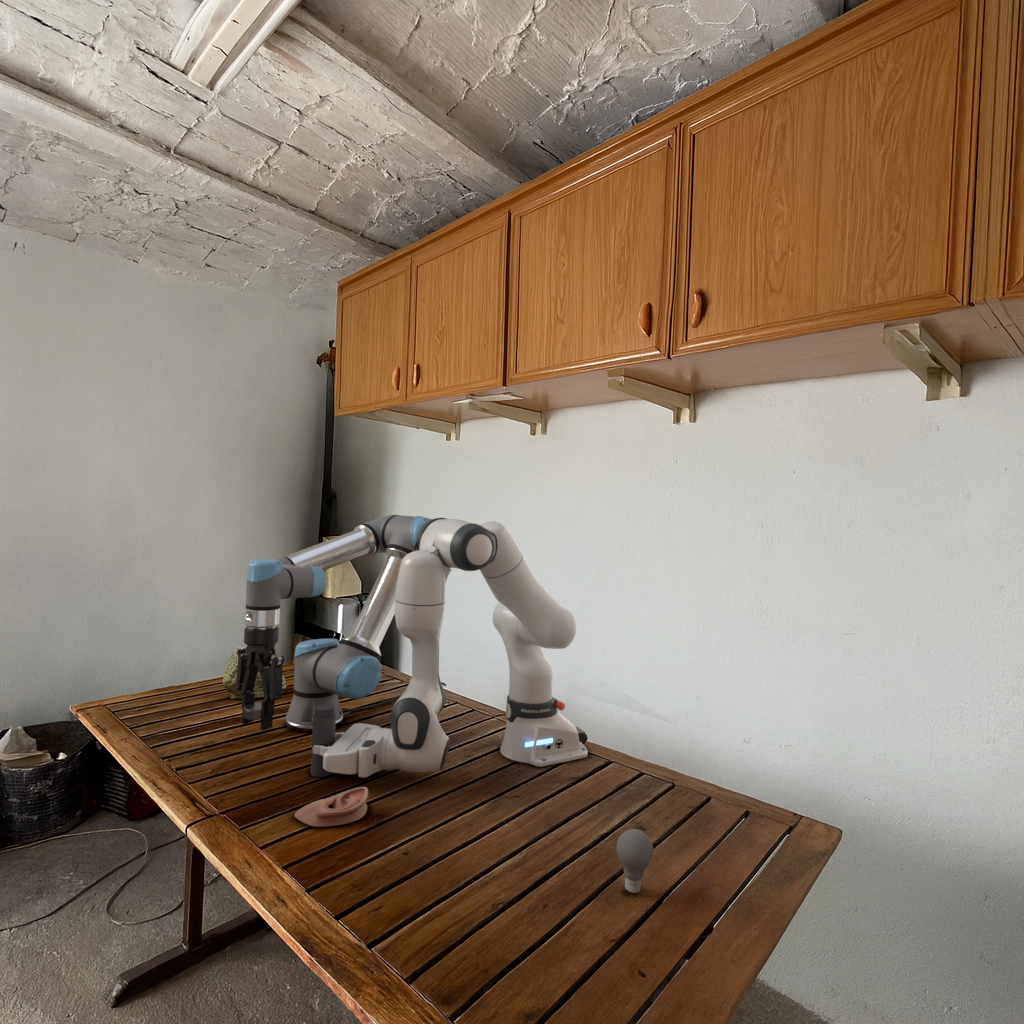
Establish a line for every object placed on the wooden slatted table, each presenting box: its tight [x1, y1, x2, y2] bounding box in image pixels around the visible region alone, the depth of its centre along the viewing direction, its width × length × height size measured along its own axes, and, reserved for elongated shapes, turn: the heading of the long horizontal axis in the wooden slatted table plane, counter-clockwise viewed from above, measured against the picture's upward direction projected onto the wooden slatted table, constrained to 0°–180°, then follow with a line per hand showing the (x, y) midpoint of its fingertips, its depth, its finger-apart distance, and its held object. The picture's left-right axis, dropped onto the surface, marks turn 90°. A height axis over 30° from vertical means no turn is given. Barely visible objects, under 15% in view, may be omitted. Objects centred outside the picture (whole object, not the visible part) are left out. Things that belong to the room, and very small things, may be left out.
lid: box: [243, 701, 262, 721], centre depth 147 cm, size 6×6×2 cm
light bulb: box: [615, 828, 654, 894], centre depth 106 cm, size 6×6×10 cm
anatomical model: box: [294, 786, 369, 828], centre depth 127 cm, size 13×4×12 cm
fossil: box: [222, 646, 288, 699], centre depth 198 cm, size 9×18×15 cm, turn 132°
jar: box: [310, 704, 336, 778], centre depth 145 cm, size 5×5×15 cm
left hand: (256, 725), depth 147 cm, fingers closed on lid, 6 cm apart
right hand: (319, 743), depth 145 cm, fingers closed on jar, 5 cm apart
